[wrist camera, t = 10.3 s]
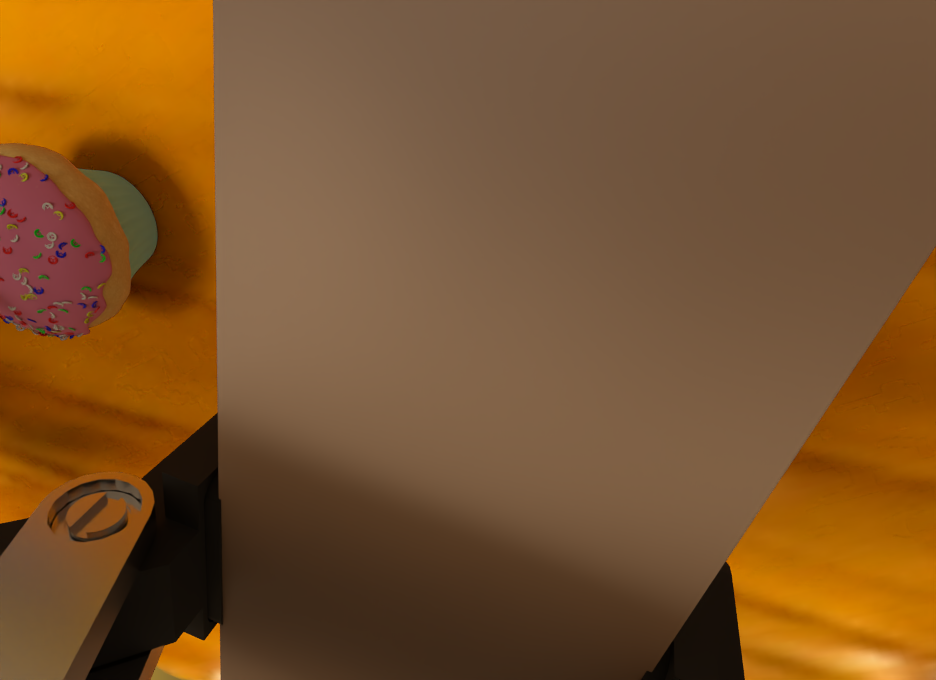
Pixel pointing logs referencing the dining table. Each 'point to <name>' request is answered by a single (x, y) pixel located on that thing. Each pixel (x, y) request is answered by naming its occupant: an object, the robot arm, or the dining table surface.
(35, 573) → the robot arm
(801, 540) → the dining table surface
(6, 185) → the cupcake
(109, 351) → the dining table surface
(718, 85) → the wooden block
